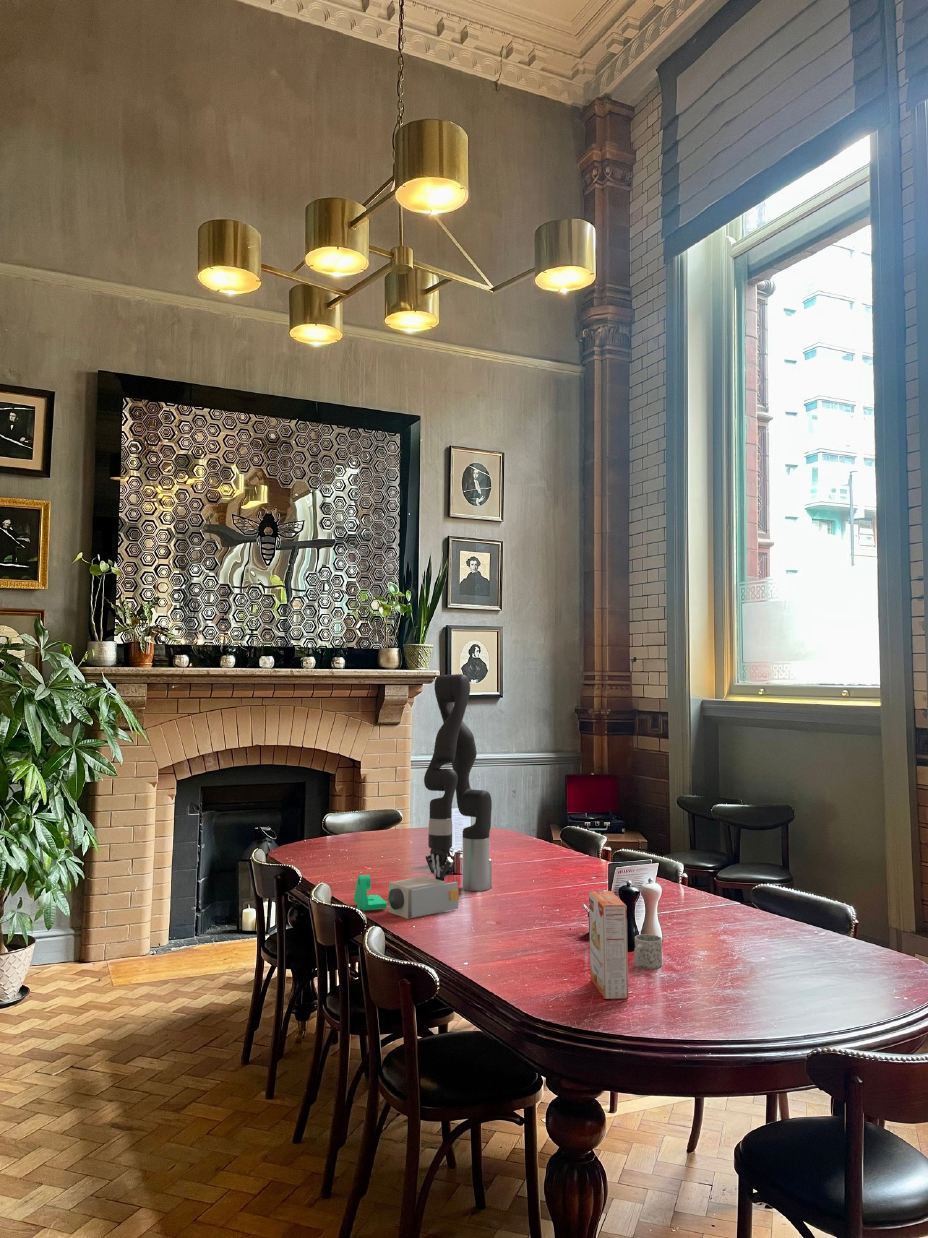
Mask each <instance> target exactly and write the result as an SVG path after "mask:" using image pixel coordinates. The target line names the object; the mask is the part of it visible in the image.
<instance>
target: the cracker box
mask: <svg viewBox="0 0 928 1238" xmlns="http://www.w3.org/2000/svg"><path fill="white" fill-rule="evenodd" d="M588 905H589V906H588V908H589V909H588V914H589V967H590V968H589V970H590V972H589V973H590V980H591V982H592V983H593V985H594V986H595V988H596V989H597V991H598V992H599V994H600V995H601V997H602V996H603V997H602V998H603V1000H604V999H612V1000H628V999H629V974H628V973H629V972H628V971H629V968H628V967H629V966H628V960H629V959H628V958H629V957H628V915H627V914H628V913H627V912H628V907H627V905H626V903H624V901H622V900H621V899H620V898H619V897H618V896H617V895H616V894H615V893H614V892H613V891H612V890H604V891H602V890H601V891H600V890H594V891H588Z"/></svg>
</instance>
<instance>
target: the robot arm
mask: <svg viewBox="0 0 928 1238" xmlns="http://www.w3.org/2000/svg"><path fill="white" fill-rule="evenodd" d="M434 694H435V699H436V701H437V707H438V708H439V712H440V715H441V718H442V721H443V722H442V725H441V726H440V728H439V729H438V731H437V734H436V736H435V741H434V749H433V754H432V756H431V760H430V762H429V765H428V766H427V769H426V771H425V773H424V776H423V785H424V787H425V788H426V789H427V790H428V791H432V792H434V791H435V792H444V793H443V796H442V797H437V798H433V799H431V800H430V801H429V821H428V833H427V834H428V839H427V840H428V843H427V844H428V848H429V849H430V852H429V854H428V855H425V860H426V863H427V865H428V868H429V870H430V873H431V874H433V875H434V877H435V879H438V880H441V881H445V877H446V876H450V873H451V872H452V870H453V868H454V866H455V864H456V861H455V860H453V859H452V858H451V851H450V849H452V847H453V819H452V813H453V812H452V811H453V809H452V808H453V807H452V806H453V801H454V795H455V796H456V804H457V805H456V806H457V809H458V811H459V814H460V815H462V816H463V817H470V818H475V822H474V823H473V824H472V825H470V826H466V827H464V828H463V829H462V889H463V890H465V891H470V892H483V891H487V890H490V889H491V888H493V881H492V880H493V868H492V867H493V863H492V861H493V860H492V859H491V858H490V832H491V827H492V807H493V806H492V805H493V804H492V800H493V799H492V796H491V794H490V792H489V791H488V790H483V789H474V788H473V789H472V788H471V785H470V773H471V770H472V768H473V767H474V764H475V762H476V759H477V754H478V752H477V745H476V741H475V736H474V734H473V732H472V731H471V728H469V727H468V725H467V724H466V723H465V722H464V721H463V720H464V716H465V713H466V709H467V706H468V702H469V698H470V694H471V682H470V679H469V678H468V676H467V675H466V674H461V673H460V674H459V673H458V674H441V675H438V676H437V677H436V678H435V680H434ZM453 703H454V704H453ZM449 764H451V767H452V769H451V768H442V767H443V766H444V765H449Z"/></svg>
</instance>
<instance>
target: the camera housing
mask: <svg viewBox="0 0 928 1238" xmlns="http://www.w3.org/2000/svg"><path fill="white" fill-rule="evenodd" d="M440 884H446V881H445V880H444V881H441V880H438V879H436V878H434V877H430V876H426V875H425V876H420V877H412V878H407V879H400V880H396V881H395V880H394V881H389V882H388V912H389V913H391V914H393V915H396V916H399V917H402V918H405V919H406V920H408V919H410V918H409V890H411V889H417V888H423V887H428V886H434V885H440ZM443 912H445V911H443ZM443 912H442V913H443ZM428 915H429V916H430V914H428ZM428 915H427V916H428ZM432 915H435V913H433V914H432ZM418 917H420V916H418ZM418 917H417V918H418ZM414 918H415V917H413V918H412V919H414Z"/></svg>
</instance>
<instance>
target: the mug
mask: <svg viewBox="0 0 928 1238" xmlns="http://www.w3.org/2000/svg"><path fill="white" fill-rule="evenodd" d="M662 941H663V939H662V937H661V936H659V935H655V934H646V933H643V934H637V935H635V936H634V949H633V962H634V966H635V967H636V968H639V969H645V970H658V969H660V968H662V967H663V945H662V944H663V943H662Z"/></svg>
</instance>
